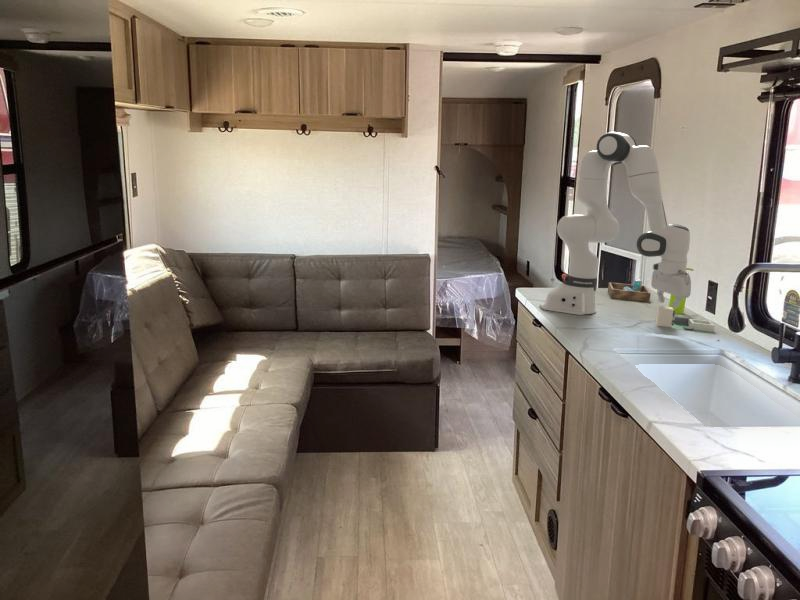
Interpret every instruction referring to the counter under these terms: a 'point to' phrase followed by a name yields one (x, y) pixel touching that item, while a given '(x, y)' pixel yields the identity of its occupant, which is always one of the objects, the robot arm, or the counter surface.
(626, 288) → the teal container
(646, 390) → the counter surface
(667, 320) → the plug
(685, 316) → the grey sponge
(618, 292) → the wooden tray
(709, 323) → the compartment tray
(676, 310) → the soap dispenser
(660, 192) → the robot arm
